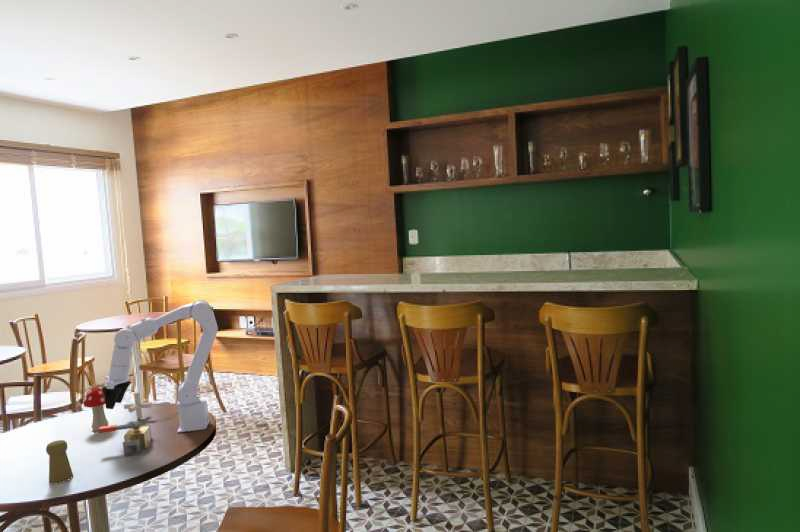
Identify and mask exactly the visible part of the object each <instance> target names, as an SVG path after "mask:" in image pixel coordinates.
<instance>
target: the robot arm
mask: <svg viewBox="0 0 800 532" xmlns="http://www.w3.org/2000/svg"><path fill="white" fill-rule="evenodd" d="M191 317H192V319H193V320H195V321H196V322H197V323H198V324H199V326H200V328H201V329H202V332H201V336H200V337H199V340H198V344H197V345H196V346H197V347H196V349H195V351H194V354H193V356H192V359H191V362H190V365H189V367H188V369H187V373H186V375H185V377H184V379H183V381H181V382H180V383H179V385H178V386H177V394H176V397H177V398H176V399H177V403H176V404H177V413H178V418H179V421H178V422H179V427H178V429H177V431H176V433H177V434H178V433H186V431H187V432H194V431H199V430H200V431H201V430H206V429H207V428H208V425H209V424H210V417H209V407H208V402H207V400H201V399H200V397H198V393H197V391H198V387H199V384H200V380H201V376H202V373H203V372H204V368H205V367H206V363H207V361H208V359H209V356H210V352H211V350H212V347H213V344H214V342H215V339H216V337H217V333H218V331H219V327H218V324H217V320H216V316H215V314H214V309H213V308H212V306H211V305H210V304H209V302H207V301H206V300H203V299H199V300H197V301H194V302H190V303H186V304H184V305H181V306H178V308H175V309H173V310H171V311H168V312H166V313H165V314H163V315H161V316H158V317H156V318H153V317H147V318H146V317H142V318H141V319H140V321H138V322H136V323H134V324H128V325H127V326H126V327H123V328H121V329H119V330H118V331H117V333H116V334H115V335H114V339H113V340H114V345H113V350H112V355H111V360H110V368H109V372H108V375H106V376H104V380H107V382H106V385H104V386H102V387H101V388H102V390H103V393H104V396H105V403H106V404H105V409H107V410H114V408H115V405H116V404H117V403H118V404H121V403H122V401H123V399H124V396H125V394H126V392H127V390H128V388H129V386H130V385H131V382H132V381H130V380H129V375H130V374H129V373H130V368H131V367H130V366H131V360H132V353H133V344H134V342H140V341H142V340H143V339H146V338H148V337H151V336H153V335H155V334H157V332H158V331H159V329H160V328H162V327H164V326H166V325H169V324H170V323H171V324H172V323H173V322H176V321H178V320H181V319H184V320H186V319H187V320H191Z"/></svg>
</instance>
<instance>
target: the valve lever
mask: <svg viewBox="0 0 800 532" xmlns="http://www.w3.org/2000/svg"><path fill="white" fill-rule="evenodd" d="M141 426H142V425H141V422H140V421H136V422H135V421H134V422H133V423H126V424H119V425H117V424H114V425H111V424H110V425H108V426H104V427H100V428H99V429H98V431H97V433H98V434H103V433H112V432H116V431H120V430H121V431H122V430H128V429H136V428H139V427H141Z"/></svg>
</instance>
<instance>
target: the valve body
mask: <svg viewBox="0 0 800 532" xmlns="http://www.w3.org/2000/svg"><path fill="white" fill-rule="evenodd" d="M151 428H152V427H151V425H150V424H148V425H141V427H139V428H136V429H132V428H130V429H129V430H127V432H126V433H125V434H124V435H123V440H124V441H123V442H122V448H123V449H122V450H123V455H124V457H130V456H132V457H133V456H137V455H140V454H141V451H143V450H146V449H147V448H148V447H149V446H150V444H151V443H152V437H153V436H152V429H151ZM150 442H151V443H150ZM142 449H143V450H142Z"/></svg>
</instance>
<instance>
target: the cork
mask: <svg viewBox="0 0 800 532" xmlns="http://www.w3.org/2000/svg"><path fill="white" fill-rule="evenodd" d="M67 449H68V443H67V441H66V440H64V439H59V440H54V441H52V442H49V443H48V444H47V445H46V449H45V451H46V454H47V455H48V457H49V458H48V459H49V460H48V462H49V463H48V465H49V466H48V478H49V479H48V483H49V484H50V483H58V484H61V483H60V482H62V483H64V482H63V481H65V482H67V481H66V480H68V479H70V478H71V477H72V478H73V477H74V474H73V471H72V466H71V464H70V461H69V458H68V454H67ZM72 478H71V479H72ZM71 479H70V480H71ZM68 481H69V480H68Z"/></svg>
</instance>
